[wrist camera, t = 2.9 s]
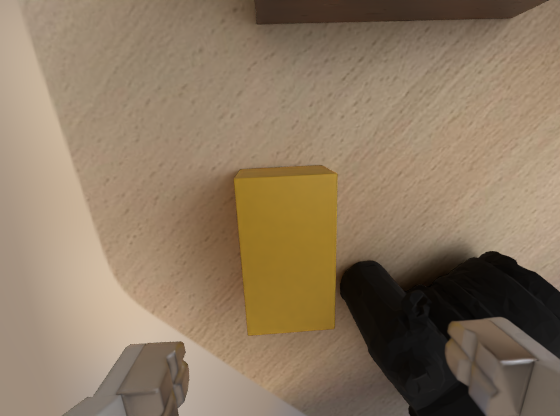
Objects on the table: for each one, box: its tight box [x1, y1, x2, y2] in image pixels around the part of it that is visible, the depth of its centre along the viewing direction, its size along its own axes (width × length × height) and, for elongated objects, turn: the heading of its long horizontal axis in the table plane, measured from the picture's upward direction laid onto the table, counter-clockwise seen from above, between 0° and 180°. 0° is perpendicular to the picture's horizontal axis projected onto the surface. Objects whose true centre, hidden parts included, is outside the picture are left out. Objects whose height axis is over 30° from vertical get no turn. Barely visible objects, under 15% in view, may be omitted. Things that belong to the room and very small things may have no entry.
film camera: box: [340, 251, 560, 416], centre depth 15 cm, size 15×10×9 cm, turn 39°
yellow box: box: [234, 165, 338, 336], centre depth 15 cm, size 5×9×4 cm, turn 2°
